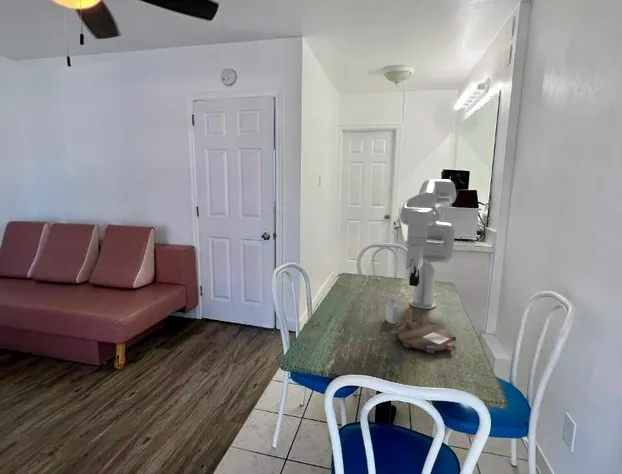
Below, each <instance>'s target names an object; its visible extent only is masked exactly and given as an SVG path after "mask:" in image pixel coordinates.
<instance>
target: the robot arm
mask: <svg viewBox="0 0 622 474" xmlns="http://www.w3.org/2000/svg"><path fill="white" fill-rule="evenodd" d="M456 199H457V190H456V185H455V184H454V182H453V180H451V179H437V178H436V179H433V178H432V179H426V180H425V181H424V182H423V183H422V184H421V187H420V190H419V191H418V194H416V195H414V196H412V197H410V198H408V199H407V200H405V202H404V203H403V205H402V208H401V209H400V213H399V220H400V222H401V224H403V225H405V226H407V239H406V245H408V246H407V252H406V261H405V269H406V270H408V269H409V280H408V281H409V282H408V283H409V284H408V285H409V286H412V287H413V290H412V291H413V292H412V293H413V294H412V298H411V299H410V300H409V302H408V303H409V304H410V305H411V307H414V308H417V309H423V310H431V309H434V308H436V307H437V303H436V302H435V301H434V299H437V298H438V294H436V293H435V294H434V292H435V291H434V290H435V279H436V278H435V277H436V270H435V268H434V266H433V263H436V264H437V263H438V264H449V263H451V261H452V259H453V252H454V244H455V235H456V234H455V233H456V231H455V226H454V225H453V224H452V223H449V222H441V213H440V211H439V209H438V208H437V207H436V205H437V204H438V205H440V204H441V205H452V204H453V203H455V201H456Z"/></svg>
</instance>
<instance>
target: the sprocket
mask: <svg viewBox="0 0 622 474" xmlns="http://www.w3.org/2000/svg"><path fill="white" fill-rule="evenodd" d="M412 320H413V310H412V309H410V308H408V309H406V310H405V322H404V323H402V322H401V323H399V324H398V326H397V330H393V338H397V339H399V341H401V342H402V345H403V346H404V347H406V348H414V349H417V350H422V351H426V353H432V354H434V353H435V352H437V351H443V350H448V351H452V350H453V349H454V347H455V345H454V343H453V342H457V336H456V334H455V333H450V332H449V331H448V330H447V329H445V327H444V326H441V325H439V324H438V325H433V324H431V323H430V324H429V323H423V321H415V322H413V321H412Z"/></svg>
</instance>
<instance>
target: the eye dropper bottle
mask: <svg viewBox="0 0 622 474" xmlns="http://www.w3.org/2000/svg"><path fill="white" fill-rule="evenodd" d="M388 299H389V300H388V303H386V307H385V320H386V321H387V323H389V324H391V325H395V324H397V322H398V321H397V320H398V306H397V304H396V298H395V297H394V295H393V294H392V295H391V296H390V297H389V298H388Z"/></svg>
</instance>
